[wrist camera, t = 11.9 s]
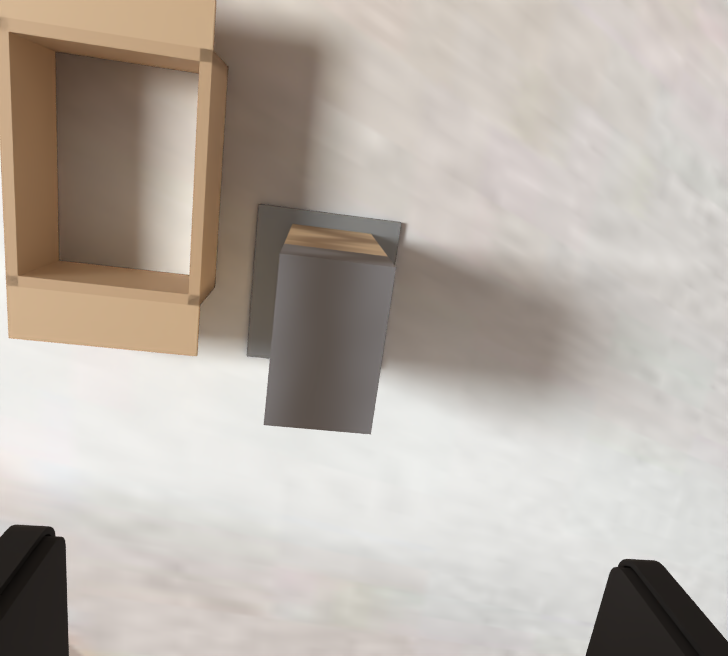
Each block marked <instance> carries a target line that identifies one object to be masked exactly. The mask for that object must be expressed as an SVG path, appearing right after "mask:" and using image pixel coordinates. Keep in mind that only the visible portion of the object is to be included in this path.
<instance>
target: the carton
mask: <svg viewBox="0 0 728 656" xmlns="http://www.w3.org/2000/svg"><path fill="white" fill-rule="evenodd" d="M215 17H216V0H0V151H1V174H2V197H3V220H4V243H5V266H6V289H7V311H8V334H9V338H13V339H23V340H33V341H44V342H54V343H64V344H75V345H85V346H95V347H106V348H116V349H126V350H137V351H147V352H157V353H168V354H178V355H188V356H197V353H198V334H199V316H200V304H201V303H202V302H203V301H204V299H205V298H206V297H207V296H208V295H209V293H210V292H211V291H212V290H213V289H214V287H215V276H216V260H217V243H218V226H219V210H220V193H221V177H222V160H223V144H224V127H225V111H226V94H227V77H228V66H227V65H226V64H225V63H224V62H223V61H222V59H221V58H220V57H219V56H218V55H217V54H216V53H215V52H214V35H215ZM55 51H56V52H62V53H69V54H75V55H82V56H89V57H95V58H102V59H108V60H115V61H121V62H128V63H135V64H141V65H148V66H154V67H161V68H167V69H174V70H181V71H187V72H194V73H199V85H198V106H197V127H196V148H195V169H194V190H193V211H192V232H191V253H190V275H184V274H175V273H166V272H157V271H149V270H140V269H131V268H122V267H113V266H104V265H95V264H86V263H77V262H68V261H60V260H59V234H58V176H57V118H56V60H55Z"/></svg>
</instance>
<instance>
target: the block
mask: <svg viewBox="0 0 728 656" xmlns="http://www.w3.org/2000/svg"><path fill="white" fill-rule="evenodd" d="M395 271H396V267H395V265H394V264H393V263H392V261H391V260H390V259H389V257H388V256H387V255H386V253H385V252H384V251H383V249H382V248H381V247H380V245H379V244H378V242H377V241H376V240H375V238H374V237H373V236H372V234H368V233H361V232H353V231H345V230H337V229H329V228H321V227H314V226H306V225H298V224H292V226H291V229H290V231H289V233H288V236H287V238H286V240H285V243H284V245H283V247H282V250H281V252H280V258H279V268H278V279H277V290H276V300H275V311H274V322H273V332H272V343H271V354H270V364H269V375H268V386H267V396H266V407H265V417H264V425H270V426H281V427H293V428H304V429H316V430H327V431H339V432H350V433H362V434H371V429H372V423H373V416H374V409H375V403H376V396H377V390H378V383H379V377H380V370H381V363H382V357H383V350H384V344H385V337H386V331H387V324H388V317H389V311H390V304H391V298H392V291H393V284H394V278H395Z"/></svg>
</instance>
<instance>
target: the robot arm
mask: <svg viewBox="0 0 728 656" xmlns="http://www.w3.org/2000/svg"><path fill="white" fill-rule="evenodd" d="M0 656H69V646H68V612H67V577H66V545H65V540H64V538H63V537H56V536H55V531H54V529H53V528H52V527H49V526H31V525H13V526H11V527H9V528H8V529H7V530H6V531H5V532H4V534H3V535H2V536H1V537H0ZM586 656H728V641H727V640H726V639H725V638H724V637H723V636H722V634H721V633H720V632H719V631H718V630H717V628H716V627H715V626H714V625H713V624H712V623H711V621H710V620H709V619H708V618H707V617H706V615H705V614H704V613H703V612H702V611H701V610H700V608H699V607H698V606H697V605H696V604H695V603H694V601H693V600H692V599H691V598H690V597H689V595H688V594H687V593H686V592H685V591H684V590H683V588H682V587H681V586H680V585H679V584H678V582H677V581H676V580H675V579H674V578H673V577H672V575H671V574H670V573H669V572H668V571H667V570H666V568H665V567H664V566H663V565H662V564H661V563H659V562H657V561H654V560H636V559H624V560H622V561H621V562H620V563H619V565H618V567H614V568H613V569H612V570H611V572H610V574H609V577H608V581H607V584H606V588H605V591H604V594H603V598H602V601H601V605H600V608H599V612H598V615H597V618H596V622H595V625H594V629H593V632H592V636H591V639H590V642H589V646H588V649H587V653H586Z"/></svg>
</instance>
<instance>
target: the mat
mask: <svg viewBox="0 0 728 656" xmlns="http://www.w3.org/2000/svg"><path fill="white" fill-rule="evenodd" d="M292 224H298V225H306V226H314V227H321V228H329V229H337V230H345V231H353V232H361V233H368V234H372V236H373V237H374V238H375V240H376V241H377V242H378V244H379V245H380V247H381V248H382V249H383V251H384V252H385V253H386V255H387V256H388V257H389V259H390V260H391V261H392V263H393V264H394V265H395V262H396V255H397V248H398V241H399V235H400V228H401V222H395V221H387V220H380V219H372V218H364V217H356V216H348V215H340V214H333V213H325V212H317V211H309V210H301V209H294V208H286V207H278V206H270V205H262V204H259V208H258V220H257V233H256V246H255V258H254V271H253V284H252V296H251V309H250V321H249V334H248V347H247V356H250V357H260V358H270V354H271V343H272V332H273V322H274V311H275V300H276V290H277V279H278V268H279V258H280V252H281V250H282V247H283V245H284V243H285V240H286V238H287V236H288V233H289V231H290V229H291V226H292Z"/></svg>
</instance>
